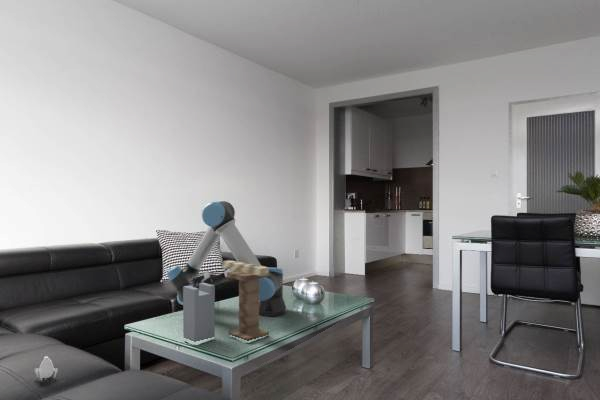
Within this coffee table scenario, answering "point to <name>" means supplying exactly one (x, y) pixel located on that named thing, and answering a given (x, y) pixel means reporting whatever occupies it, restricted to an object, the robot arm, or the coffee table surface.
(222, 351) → the coffee table surface
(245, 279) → the walnut stand
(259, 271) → the birch bar
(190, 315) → the slotted block
